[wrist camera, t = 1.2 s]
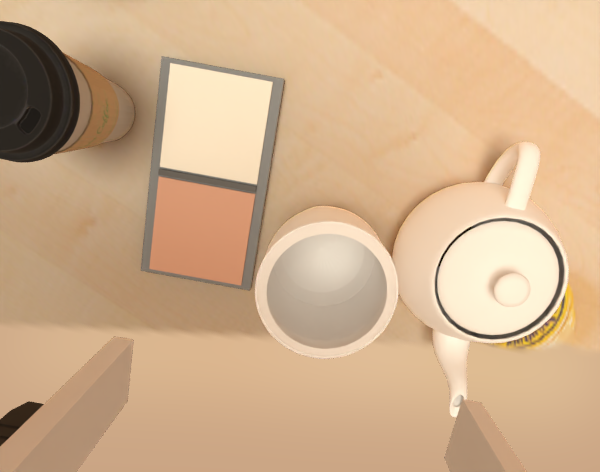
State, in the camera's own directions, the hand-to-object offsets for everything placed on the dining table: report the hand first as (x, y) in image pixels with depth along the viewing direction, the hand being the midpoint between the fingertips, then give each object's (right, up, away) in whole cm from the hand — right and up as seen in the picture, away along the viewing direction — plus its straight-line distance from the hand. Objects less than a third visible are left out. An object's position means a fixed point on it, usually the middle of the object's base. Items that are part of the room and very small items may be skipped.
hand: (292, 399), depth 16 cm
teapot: (+17, +4, +28) cm, 33 cm away
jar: (+3, +6, +28) cm, 29 cm away
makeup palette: (-9, +12, +27) cm, 31 cm away
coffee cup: (-19, +19, +26) cm, 38 cm away
